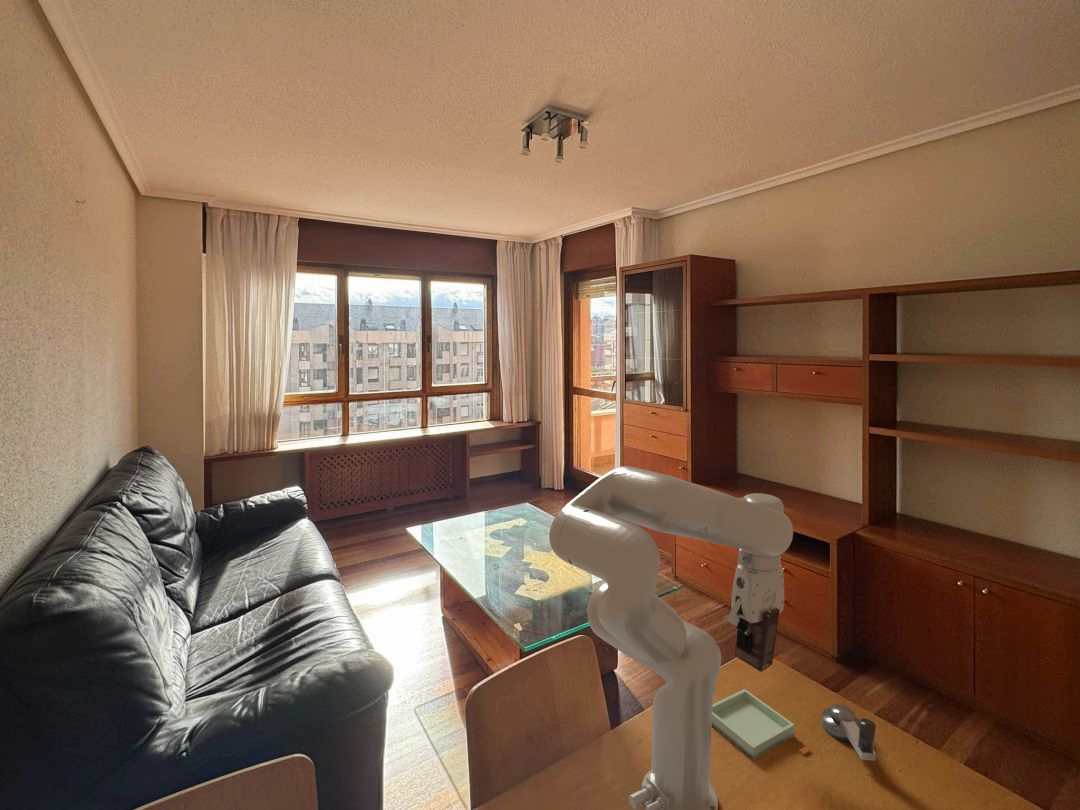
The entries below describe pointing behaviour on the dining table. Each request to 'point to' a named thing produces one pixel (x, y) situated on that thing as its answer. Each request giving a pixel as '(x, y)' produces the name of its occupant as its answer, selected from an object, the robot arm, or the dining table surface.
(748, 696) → the tray
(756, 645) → the box
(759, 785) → the dining table surface
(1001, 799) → the dining table surface
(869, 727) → the crank
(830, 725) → the crank base
